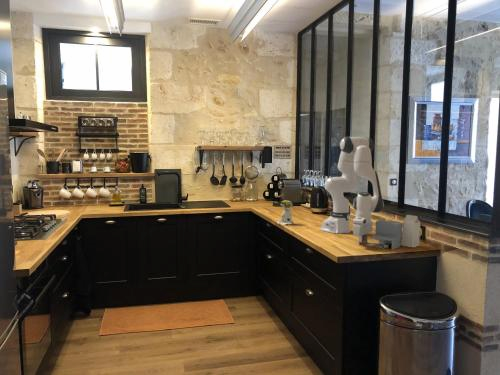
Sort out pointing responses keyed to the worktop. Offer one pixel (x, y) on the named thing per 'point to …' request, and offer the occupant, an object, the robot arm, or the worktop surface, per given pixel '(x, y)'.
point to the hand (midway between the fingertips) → (362, 241)
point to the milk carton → (411, 231)
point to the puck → (380, 246)
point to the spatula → (370, 243)
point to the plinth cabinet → (389, 233)
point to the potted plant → (286, 213)
